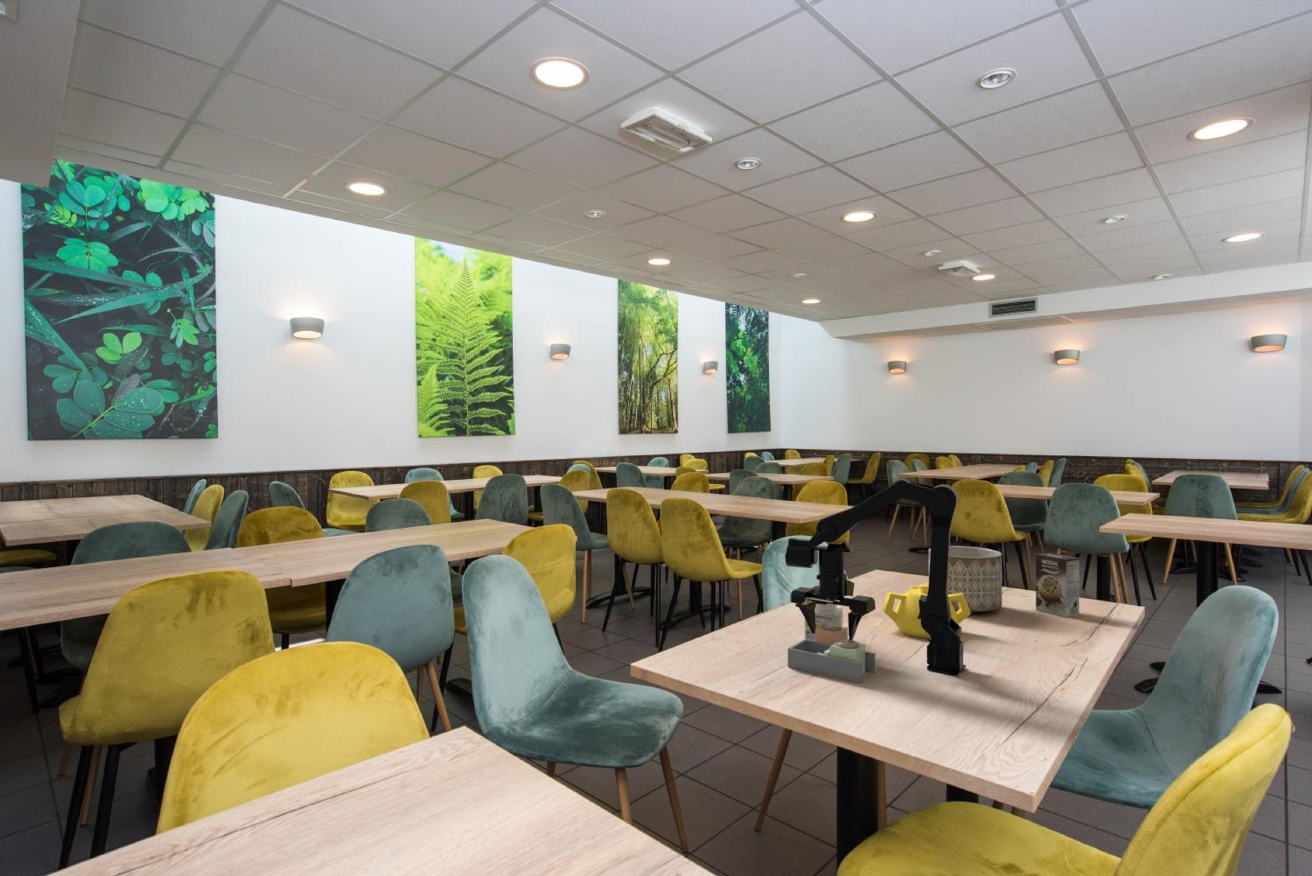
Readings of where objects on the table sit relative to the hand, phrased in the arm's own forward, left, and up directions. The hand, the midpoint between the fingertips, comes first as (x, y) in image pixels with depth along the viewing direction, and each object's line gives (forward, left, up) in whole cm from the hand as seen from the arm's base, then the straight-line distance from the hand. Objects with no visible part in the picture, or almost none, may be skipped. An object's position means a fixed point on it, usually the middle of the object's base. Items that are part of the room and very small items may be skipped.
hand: (832, 637), depth 156 cm
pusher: (-3, +10, -4) cm, 11 cm away
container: (+6, -9, -4) cm, 12 cm away
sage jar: (-8, +10, -4) cm, 13 cm away
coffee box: (-36, -71, -4) cm, 80 cm away
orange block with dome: (0, 0, -4) cm, 4 cm away
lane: (-4, +10, -4) cm, 12 cm away
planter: (-14, -61, -4) cm, 63 cm away
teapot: (-12, -31, -4) cm, 33 cm away
